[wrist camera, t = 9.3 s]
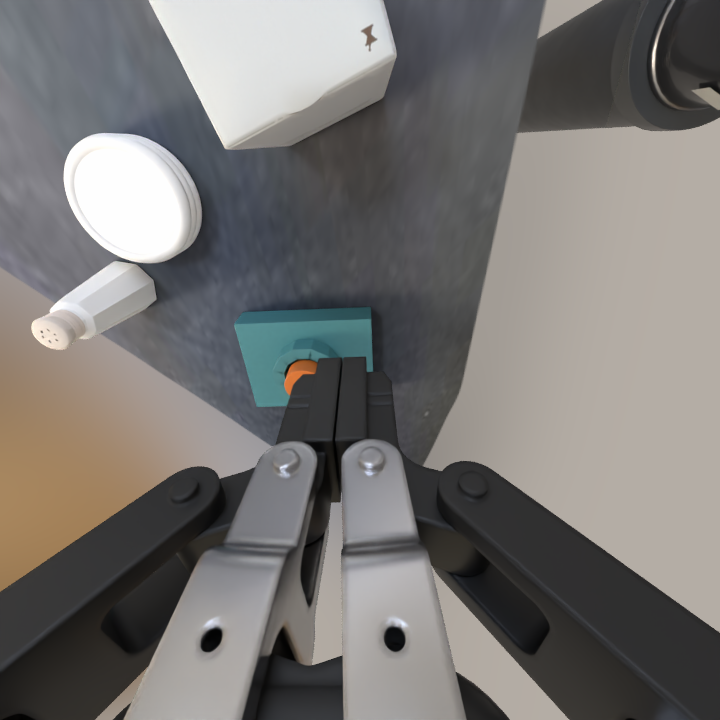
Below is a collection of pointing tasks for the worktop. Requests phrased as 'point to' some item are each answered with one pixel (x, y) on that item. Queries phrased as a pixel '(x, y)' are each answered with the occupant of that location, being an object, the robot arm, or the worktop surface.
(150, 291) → the pepper shaker
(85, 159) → the white round stack
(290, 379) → the orange button cap
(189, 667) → the robot arm
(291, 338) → the button base
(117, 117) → the worktop surface
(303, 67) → the rectangular carton
